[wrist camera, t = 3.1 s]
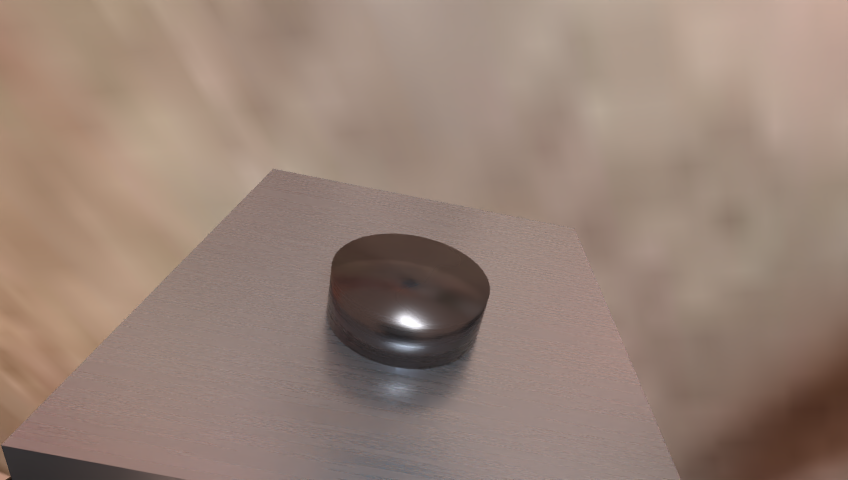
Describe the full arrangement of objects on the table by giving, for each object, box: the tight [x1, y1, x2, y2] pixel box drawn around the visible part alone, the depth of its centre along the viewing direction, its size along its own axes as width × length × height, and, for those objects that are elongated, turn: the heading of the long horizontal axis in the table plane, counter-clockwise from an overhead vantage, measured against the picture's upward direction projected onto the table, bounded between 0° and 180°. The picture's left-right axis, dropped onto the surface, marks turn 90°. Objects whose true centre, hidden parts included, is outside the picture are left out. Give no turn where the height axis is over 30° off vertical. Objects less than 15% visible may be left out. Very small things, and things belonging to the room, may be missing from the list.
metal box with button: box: [1, 169, 681, 480], centre depth 8 cm, size 6×8×6 cm
